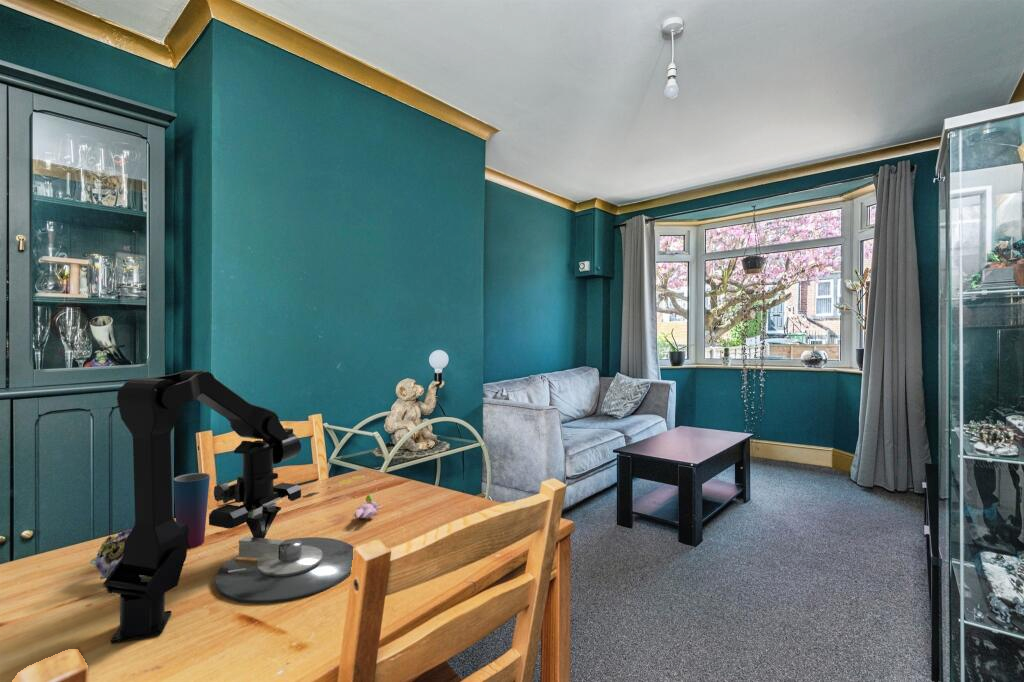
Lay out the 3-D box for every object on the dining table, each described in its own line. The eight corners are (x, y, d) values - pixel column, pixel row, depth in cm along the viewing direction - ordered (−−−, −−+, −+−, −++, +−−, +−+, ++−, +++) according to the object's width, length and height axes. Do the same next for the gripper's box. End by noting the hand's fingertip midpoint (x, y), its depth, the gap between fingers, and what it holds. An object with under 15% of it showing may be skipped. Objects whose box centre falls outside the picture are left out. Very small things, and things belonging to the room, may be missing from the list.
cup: (191, 552, 105) (192, 482, 105) (164, 548, 107) (165, 480, 107) (216, 539, 112) (217, 474, 112) (190, 536, 113) (191, 471, 113)
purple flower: (361, 513, 134) (347, 524, 120) (362, 490, 135) (348, 499, 120) (384, 513, 135) (373, 524, 120) (385, 490, 136) (374, 499, 121)
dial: (333, 552, 104) (334, 534, 104) (300, 579, 92) (300, 559, 92) (261, 544, 107) (262, 527, 107) (220, 570, 95) (220, 550, 95)
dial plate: (363, 587, 92) (364, 581, 92) (202, 615, 82) (202, 608, 82) (352, 535, 116) (353, 530, 116) (227, 551, 106) (227, 546, 106)
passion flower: (109, 614, 91) (69, 563, 90) (160, 576, 102) (124, 530, 101) (146, 588, 88) (105, 536, 88) (195, 552, 99) (158, 504, 98)
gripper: (263, 455, 113) (264, 521, 114) (187, 479, 96) (188, 557, 96) (302, 460, 110) (303, 528, 110) (230, 486, 92) (231, 567, 93)
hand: (258, 543), depth 103 cm, fingers closed
